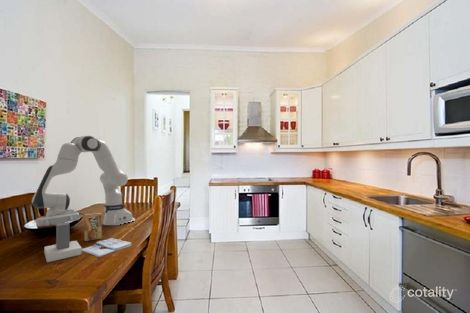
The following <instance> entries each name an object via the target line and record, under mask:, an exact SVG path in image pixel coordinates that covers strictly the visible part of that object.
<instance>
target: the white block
mask: <svg viewBox="0 0 470 313" xmlns="http://www.w3.org/2000/svg"><path fill="white" fill-rule="evenodd" d="M43 249H44V250H43V253H44V256H45V257H44V258H45V259H46V260H45V261H46V263H50V262H54V261H58V260H62V259H68V258H71V257H72V258H73V257H77V256H81V255H82V251H81V249H82V246H81V245H80V244H79V242H78V240H71V241H70V247H69V248H64V249H59V250H57V248H56V244H52V245H46V246H44V248H43Z"/></svg>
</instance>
